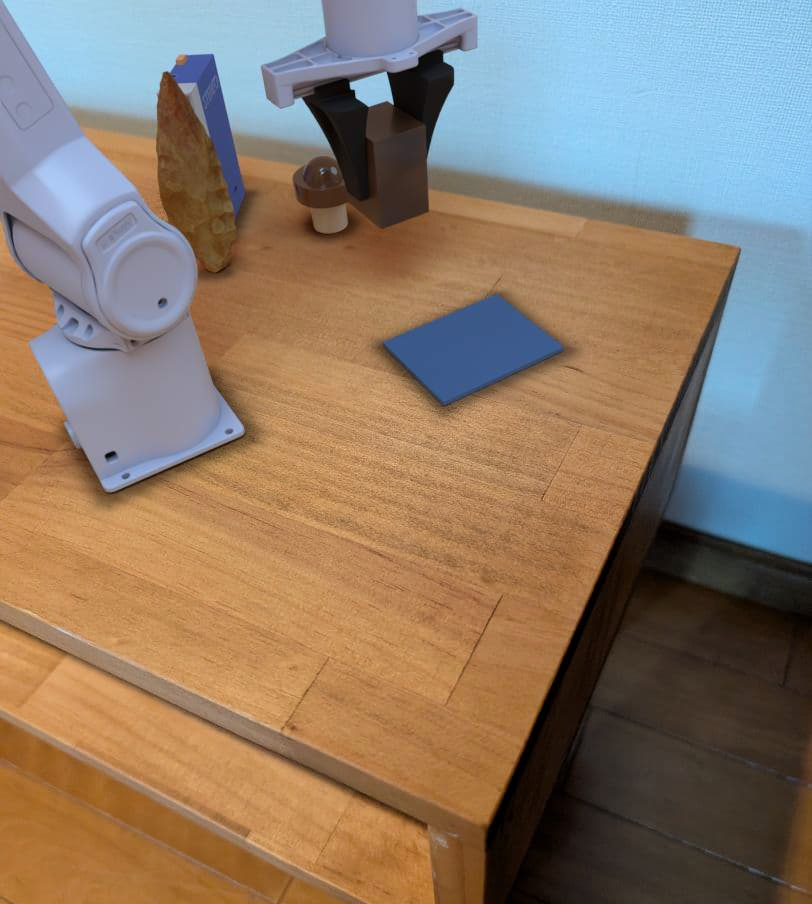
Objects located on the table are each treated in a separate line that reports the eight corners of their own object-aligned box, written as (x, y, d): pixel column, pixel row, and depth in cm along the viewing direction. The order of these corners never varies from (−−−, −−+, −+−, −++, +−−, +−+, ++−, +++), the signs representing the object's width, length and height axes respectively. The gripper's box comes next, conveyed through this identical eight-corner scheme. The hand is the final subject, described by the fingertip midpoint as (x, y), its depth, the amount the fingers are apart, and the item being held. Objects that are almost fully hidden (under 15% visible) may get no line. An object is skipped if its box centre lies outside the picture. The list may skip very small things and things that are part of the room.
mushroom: (318, 247, 65) (306, 178, 61) (290, 222, 68) (278, 155, 64) (371, 227, 67) (364, 159, 62) (342, 203, 70) (334, 136, 65)
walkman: (216, 194, 72) (179, 50, 63) (246, 194, 72) (212, 48, 63) (196, 239, 67) (152, 90, 58) (227, 239, 67) (188, 88, 58)
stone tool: (192, 287, 62) (129, 85, 51) (182, 274, 64) (118, 74, 52) (250, 266, 64) (201, 64, 52) (238, 253, 65) (188, 54, 54)
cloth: (443, 406, 51) (443, 401, 51) (383, 346, 56) (382, 341, 56) (563, 351, 54) (564, 346, 54) (496, 298, 59) (496, 293, 59)
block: (381, 230, 54) (373, 142, 50) (347, 202, 57) (336, 116, 53) (429, 212, 56) (425, 124, 51) (393, 185, 58) (387, 100, 54)
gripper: (281, -1, 40) (320, 242, 51) (508, -61, 45) (501, 175, 55) (228, -31, 44) (275, 200, 55) (441, -83, 49) (446, 140, 59)
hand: (385, 185), depth 55 cm, fingers closed on block, 4 cm apart
